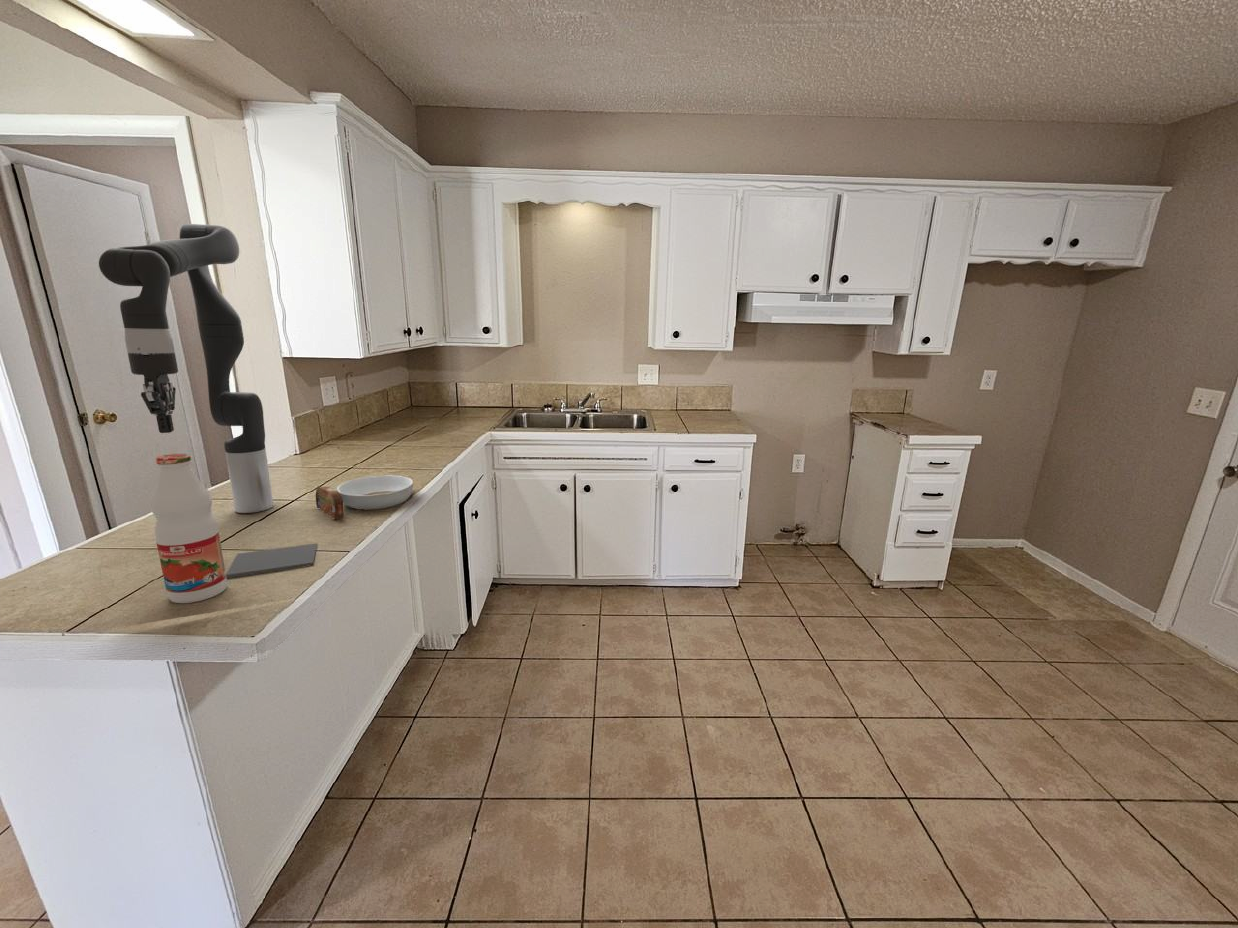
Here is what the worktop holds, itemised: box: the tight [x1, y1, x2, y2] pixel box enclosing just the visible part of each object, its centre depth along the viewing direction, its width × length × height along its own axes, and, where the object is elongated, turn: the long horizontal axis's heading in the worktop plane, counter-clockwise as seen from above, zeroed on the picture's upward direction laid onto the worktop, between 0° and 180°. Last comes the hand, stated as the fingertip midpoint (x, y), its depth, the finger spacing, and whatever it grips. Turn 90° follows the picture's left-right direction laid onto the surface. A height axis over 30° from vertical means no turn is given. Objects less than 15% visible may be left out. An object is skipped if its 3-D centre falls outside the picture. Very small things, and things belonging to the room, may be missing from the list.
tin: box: [315, 486, 344, 521], centre depth 146 cm, size 15×3×8 cm, turn 47°
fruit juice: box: [149, 453, 228, 604], centre depth 100 cm, size 9×9×28 cm
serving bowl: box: [336, 474, 414, 511], centre depth 157 cm, size 21×21×7 cm
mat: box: [226, 542, 318, 579], centre depth 118 cm, size 12×16×1 cm
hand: (166, 432), depth 113 cm, fingers closed
